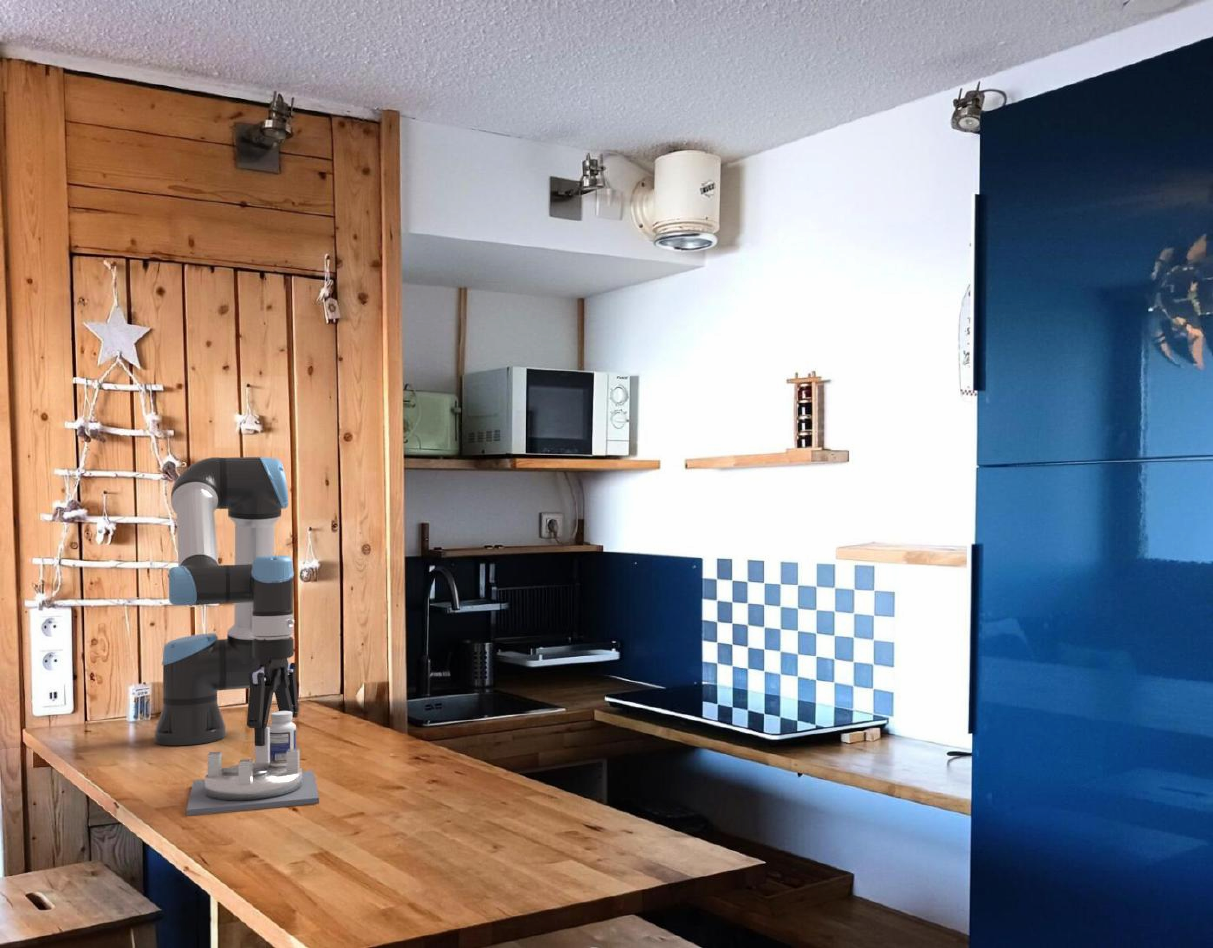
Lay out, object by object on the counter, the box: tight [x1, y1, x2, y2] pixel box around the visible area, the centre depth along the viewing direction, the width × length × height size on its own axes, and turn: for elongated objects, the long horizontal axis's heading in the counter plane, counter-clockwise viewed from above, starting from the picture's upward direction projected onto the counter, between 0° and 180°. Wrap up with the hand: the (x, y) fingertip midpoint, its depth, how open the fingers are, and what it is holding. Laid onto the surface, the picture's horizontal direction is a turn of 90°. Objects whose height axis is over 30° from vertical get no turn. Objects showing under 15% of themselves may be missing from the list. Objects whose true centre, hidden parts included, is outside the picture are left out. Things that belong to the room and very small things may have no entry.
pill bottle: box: [267, 710, 297, 767], centre depth 209 cm, size 5×5×10 cm
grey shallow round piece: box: [204, 748, 303, 800], centre depth 202 cm, size 17×17×6 cm
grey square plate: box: [186, 770, 320, 817], centre depth 202 cm, size 21×22×1 cm
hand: (273, 757), depth 209 cm, fingers open, 8 cm apart
